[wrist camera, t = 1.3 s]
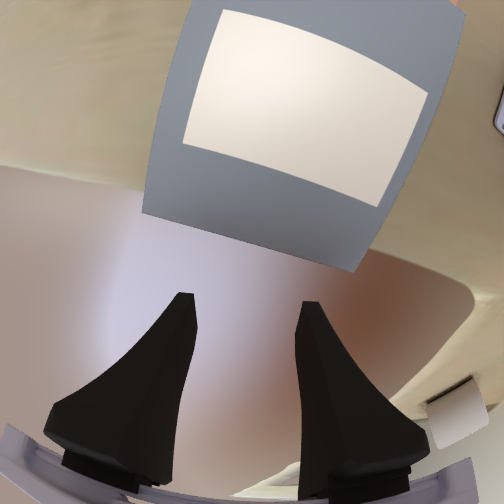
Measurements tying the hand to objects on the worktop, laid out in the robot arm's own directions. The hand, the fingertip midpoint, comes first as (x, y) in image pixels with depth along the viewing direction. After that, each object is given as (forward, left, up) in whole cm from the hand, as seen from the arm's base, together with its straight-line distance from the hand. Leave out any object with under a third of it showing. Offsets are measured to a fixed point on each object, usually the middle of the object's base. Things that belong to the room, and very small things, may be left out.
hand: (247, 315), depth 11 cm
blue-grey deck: (0, -9, -9) cm, 13 cm away
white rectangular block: (0, -8, -5) cm, 10 cm away
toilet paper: (-44, +21, -10) cm, 50 cm away
